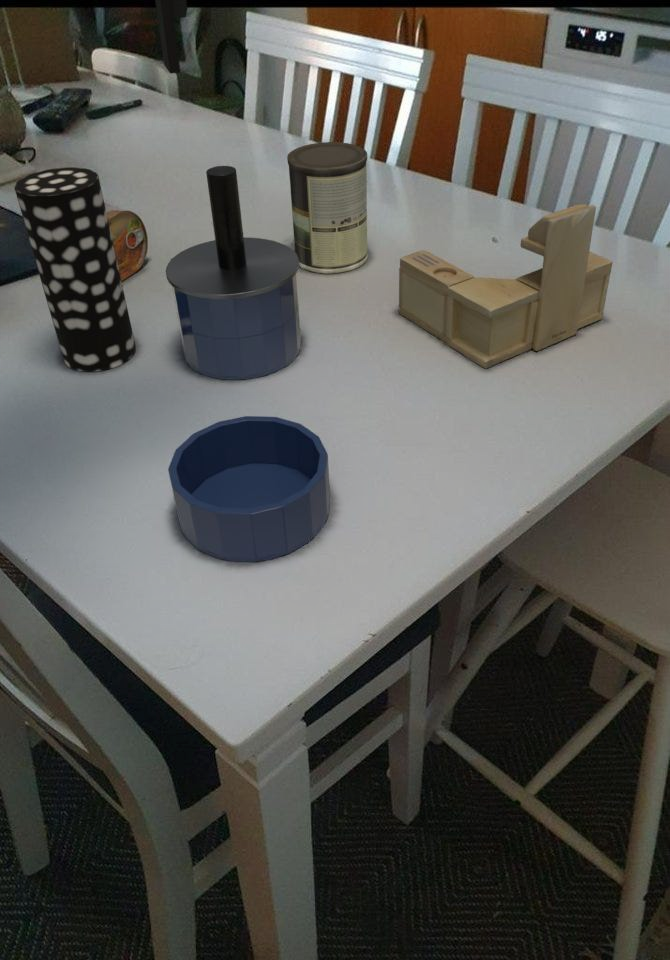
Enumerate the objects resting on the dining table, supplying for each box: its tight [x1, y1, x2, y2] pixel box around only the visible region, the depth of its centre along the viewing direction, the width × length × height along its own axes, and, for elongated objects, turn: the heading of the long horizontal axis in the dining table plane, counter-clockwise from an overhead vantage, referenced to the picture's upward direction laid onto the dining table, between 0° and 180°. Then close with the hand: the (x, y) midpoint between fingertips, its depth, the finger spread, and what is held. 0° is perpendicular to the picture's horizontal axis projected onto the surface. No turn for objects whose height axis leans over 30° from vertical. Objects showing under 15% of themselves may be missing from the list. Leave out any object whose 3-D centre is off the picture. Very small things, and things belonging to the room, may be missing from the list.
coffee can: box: [286, 141, 369, 275], centre depth 108 cm, size 10×10×14 cm
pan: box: [167, 415, 331, 563], centre depth 71 cm, size 13×13×5 cm
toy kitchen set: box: [398, 203, 614, 369], centre depth 93 cm, size 18×17×15 cm
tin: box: [106, 209, 149, 283], centre depth 107 cm, size 15×3×8 cm, turn 153°
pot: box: [171, 274, 302, 381], centre depth 91 cm, size 13×13×10 cm
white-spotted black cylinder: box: [13, 166, 137, 373], centre depth 88 cm, size 8×8×20 cm
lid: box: [165, 165, 300, 299], centre depth 85 cm, size 14×14×11 cm
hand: (79, 78), depth 59 cm, fingers open, 13 cm apart
